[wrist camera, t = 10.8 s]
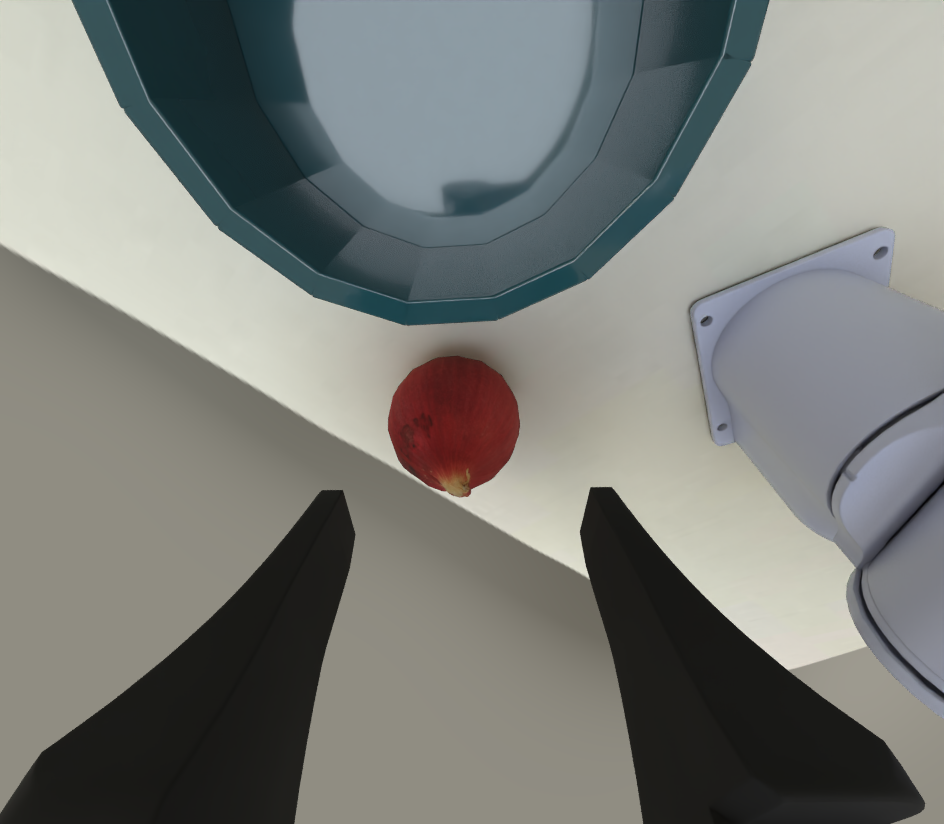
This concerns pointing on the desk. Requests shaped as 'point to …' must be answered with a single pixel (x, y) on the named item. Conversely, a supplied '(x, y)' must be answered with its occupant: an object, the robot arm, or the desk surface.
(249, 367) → the desk surface
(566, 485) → the desk surface
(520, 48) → the pot
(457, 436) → the onion
